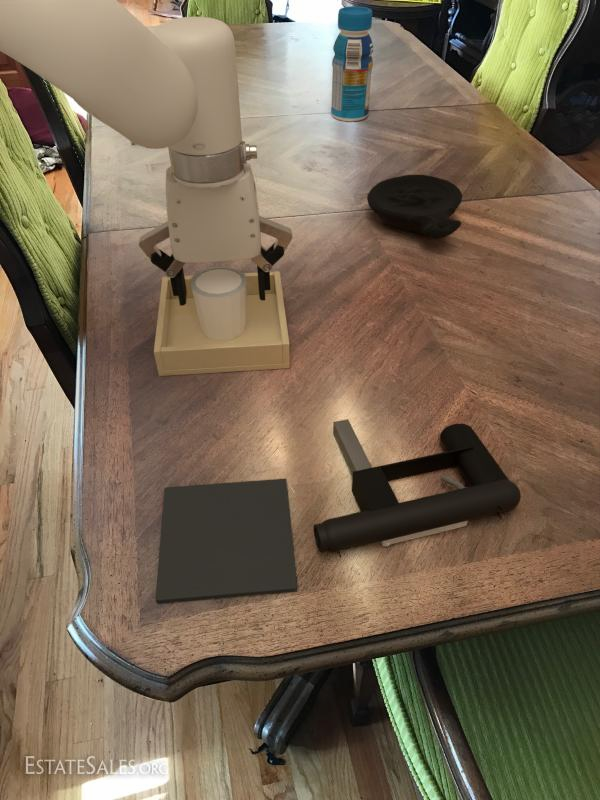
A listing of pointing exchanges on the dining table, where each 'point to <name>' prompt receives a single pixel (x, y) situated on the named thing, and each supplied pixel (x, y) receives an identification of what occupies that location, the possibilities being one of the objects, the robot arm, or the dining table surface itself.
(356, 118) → the beverage bottle
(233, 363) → the caddy
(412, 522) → the door handle
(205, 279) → the shot glass
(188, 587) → the mat
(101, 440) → the dining table surface
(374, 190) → the black cap
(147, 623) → the dining table surface
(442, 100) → the dining table surface
